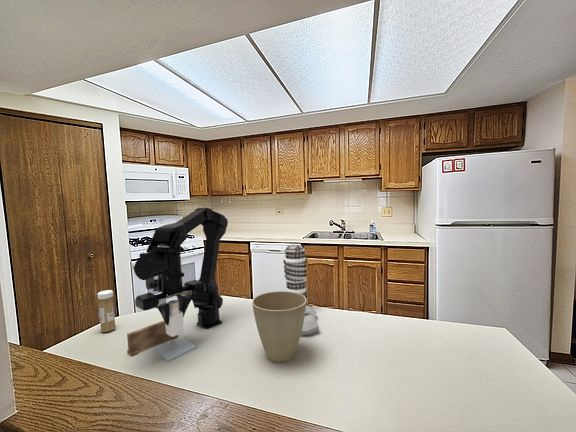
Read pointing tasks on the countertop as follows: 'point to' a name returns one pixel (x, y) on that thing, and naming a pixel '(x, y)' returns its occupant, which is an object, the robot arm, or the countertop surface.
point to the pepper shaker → (174, 319)
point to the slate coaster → (175, 349)
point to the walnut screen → (147, 338)
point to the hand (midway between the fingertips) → (174, 322)
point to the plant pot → (279, 322)
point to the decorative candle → (295, 269)
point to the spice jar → (106, 310)
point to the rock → (309, 322)
